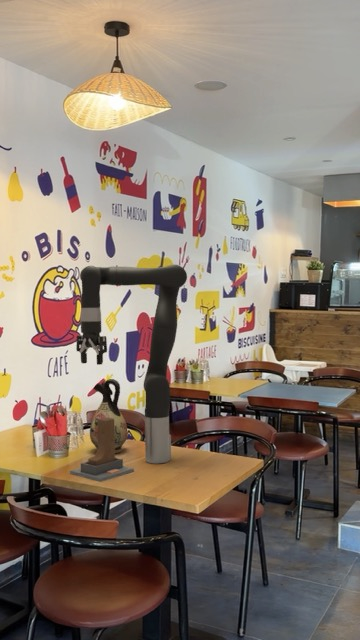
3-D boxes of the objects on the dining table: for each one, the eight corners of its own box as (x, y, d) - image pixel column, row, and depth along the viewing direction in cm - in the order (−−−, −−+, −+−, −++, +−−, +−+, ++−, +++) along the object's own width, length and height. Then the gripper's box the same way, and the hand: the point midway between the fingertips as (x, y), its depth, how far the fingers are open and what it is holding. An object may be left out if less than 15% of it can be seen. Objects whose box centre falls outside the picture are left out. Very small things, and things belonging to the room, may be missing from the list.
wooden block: (96, 473, 216) (95, 422, 215) (87, 471, 219) (87, 420, 219) (115, 468, 223) (114, 418, 222) (107, 466, 226) (106, 417, 225)
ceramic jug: (81, 453, 249) (80, 379, 248) (105, 445, 263) (104, 375, 262) (115, 458, 240) (114, 381, 239) (138, 450, 254) (137, 377, 253)
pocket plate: (103, 464, 232) (103, 453, 232) (133, 471, 222) (133, 460, 222) (70, 473, 220) (69, 462, 220) (100, 481, 210) (100, 469, 210)
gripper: (111, 320, 226) (112, 364, 227) (85, 319, 236) (86, 362, 236) (96, 320, 221) (97, 365, 221) (70, 320, 230) (71, 363, 230)
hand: (91, 363), depth 229 cm, fingers open, 8 cm apart
